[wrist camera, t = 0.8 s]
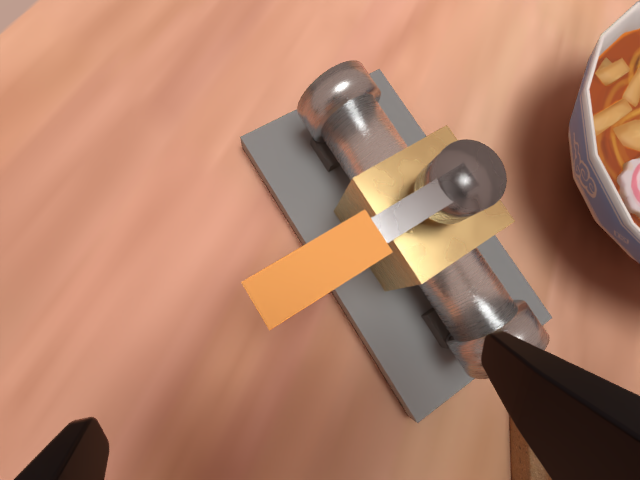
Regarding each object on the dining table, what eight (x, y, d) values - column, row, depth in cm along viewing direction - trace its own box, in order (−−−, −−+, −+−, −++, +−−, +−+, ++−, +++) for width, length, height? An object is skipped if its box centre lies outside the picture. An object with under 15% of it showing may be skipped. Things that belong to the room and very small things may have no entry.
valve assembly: (536, 317, 25) (661, 319, 17) (408, 416, 23) (482, 473, 15) (374, 81, 28) (415, -16, 20) (242, 147, 25) (226, 67, 17)
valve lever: (449, 154, 18) (480, 125, 15) (485, 205, 17) (523, 185, 15) (240, 276, 15) (232, 268, 13) (277, 339, 15) (277, 345, 12)
